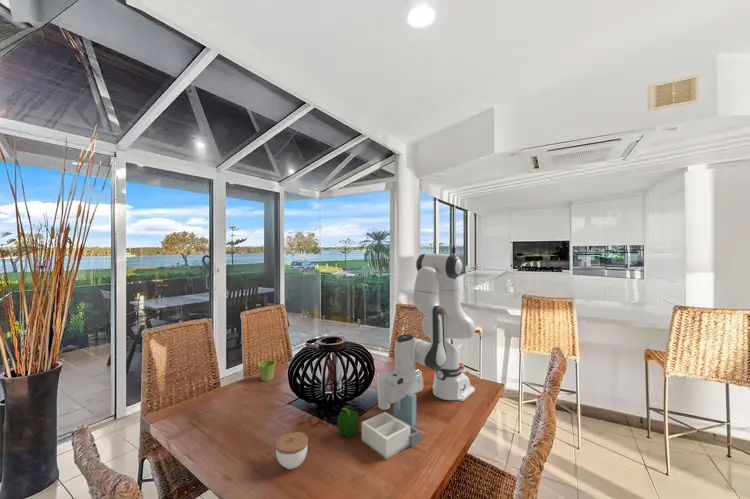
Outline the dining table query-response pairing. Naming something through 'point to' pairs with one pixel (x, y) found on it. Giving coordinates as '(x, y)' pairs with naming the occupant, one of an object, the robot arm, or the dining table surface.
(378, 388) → the drinking glass
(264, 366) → the plant pot
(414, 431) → the cabinet
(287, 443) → the lidded jar
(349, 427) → the bell pepper
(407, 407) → the door
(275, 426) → the dining table surface
